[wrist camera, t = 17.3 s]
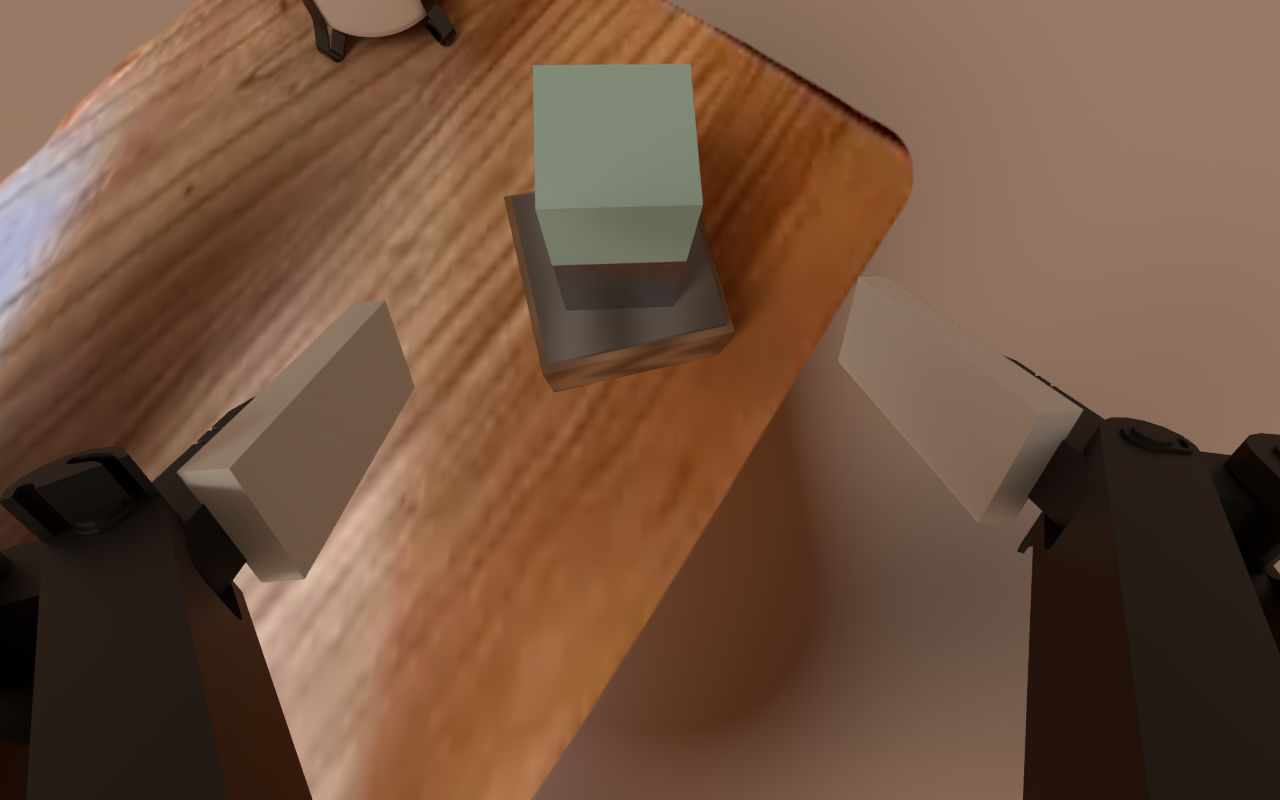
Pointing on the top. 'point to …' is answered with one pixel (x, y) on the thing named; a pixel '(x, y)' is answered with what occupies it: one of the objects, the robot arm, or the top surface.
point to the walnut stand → (616, 314)
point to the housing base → (619, 285)
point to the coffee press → (373, 21)
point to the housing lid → (616, 162)
